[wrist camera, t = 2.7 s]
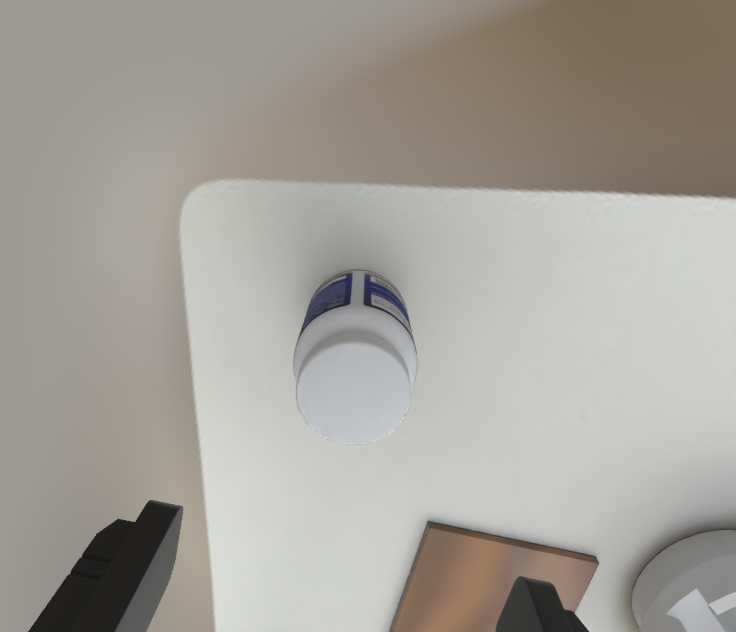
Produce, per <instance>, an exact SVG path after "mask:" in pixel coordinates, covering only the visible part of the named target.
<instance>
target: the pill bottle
mask: <svg viewBox="0 0 736 632" xmlns="http://www.w3.org/2000/svg"><path fill="white" fill-rule="evenodd" d="M293 369H294V376H295V379H296V383H297V385H296V400H297V405H298V408H299V411H300V413H301V415H302V417H303V419H304V420H305V422H306V423H307V424H308V425H309V426H310V427H311V428H312V429H313V430H314V431H315V432H316V433H318V434H319V435H321V436H322V437H324V438H326V439H328V440H331V441H333V442H337V443H340V444H347V445H360V444H367V443H370V442H374V441H376V440H379V439H381V438H383V437H385V436H386V435H388V434H389V433H391V432H392V431H393V430H394V429H395V428H396V427H397V426H398V425H399V424H400V423H401V422H402V420H403V419H404V417H405V415H406V413H407V411H408V408H409V405H410V400H411V389H412V387H413V385H414V382H415V378H416V374H417V352H416V347H415V344H414V339H413V335H412V330H411V326H410V322H409V318H408V314H407V310H406V306H405V303H404V301H403V299H402V296H401V295H400V293H399V291H398V290H397V289H396V288H395V287H394V286H393V285H392V284H391V283H390V282H389V281H388V280H386V279H385V278H383V277H381V276H379V275H377V274H374V273H371V272H367V271H347V272H343V273H340V274H337V275H335V276H333V277H331V278H330V279H328V280H327V281H325V282H324V283H323V284H322V285H321V286H320V287H319V288H318V290H317V291H316V292H315V294H314V296H313V298H312V299H311V302H310V304H309V307H308V311H307V314H306V317H305V320H304V323H303V326H302V329H301V332H300V335H299V338H298V341H297V344H296V348H295V352H294V359H293Z"/></svg>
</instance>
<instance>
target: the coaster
mask: <svg viewBox="0 0 736 632" xmlns="http://www.w3.org/2000/svg"><path fill="white" fill-rule="evenodd" d="M598 565H599V562H598V560H597V558H596V557H593V556H588V555H584V554H579V553H574V552H569V551H565V550H560V549H555V548H550V547H546V546H541V545H536V544H531V543H527V542H522V541H517V540H512V539H508V538H503V537H498V536H493V535H489V534H484V533H479V532H474V531H470V530H465V529H460V528H455V527H451V526H446V525H441V524H436V523H432V522H428V525H427V527H426V530H425V533H424V536H423V539H422V542H421V545H420V547H419V550H418V553H417V556H416V559H415V562H414V564H413V567H412V570H411V573H410V576H409V579H408V582H407V584H406V587H405V590H404V593H403V596H402V599H401V602H400V604H399V607H398V610H397V613H396V616H395V619H394V622H393V624H392V627H391V630H390V632H495V630H496V625H497V622H498V619H499V617H500V614H501V612H502V610H503V608H504V605H505V603H506V601H507V598H508V596H509V594H510V591H511V589H512V587H513V584H514V582H515V580H516V579H517V578H518V577H519V576H523V577H528V578H533V579H538V580H543V581H548V582H551V583H552V584H553V585H554V586H555V588H556V590H557V593H558V595H559V598H560V600H561V603H562V605H563V607H564V609H566V610H571V611H573V612H574V613H575V611H576V609H577V607H578V605H579V603H580V601H581V599H582V597H583V595H584V593H585V591H586V589H587V587H588V585H589V583H590V581H591V579H592V577H593V575H594V573H595V571H596V569H597V567H598Z"/></svg>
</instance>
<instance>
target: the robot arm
mask: <svg viewBox="0 0 736 632" xmlns="http://www.w3.org/2000/svg"><path fill="white" fill-rule="evenodd" d="M182 515H183V507H182V506H179V505H174V504H168V503H164V502H159V501H154V500H150V501H148V503H147V504H146V505H145V507H144V509H143V510H142V512H141V513H140V515H139V517H138V518H137V520H136V522H131V521H126V520H121V519H117V520H116V521H115V522H113V523H112V524H110V525H109V526H107V527H106V528H104V529H103V530H102V531H100V532H99V533H97V534H96V536H95V537H94V539H93V540H92V541H91V543H90V544H89V546H88V547H87V549H86V550H85V551H84V553H83V555H82V557H81V558H80V559H79V560H78V561H77V563H76V564H75V566H74V567H73V569H72V570H71V573H70V575H68V576H67V577H66V579H65V580H64V581H63V583H62V584H61V586H60V587H59V589H58V590H57V592H56V593H55V595H54V596H53V597H52V599H51V600H50V602H49V603H48V604H47V606H46V607H45V609H44V610H43V611H42V613H41V614H40V616H39V617H38V619H37V620H36V622H35V623H34V625H33V626H32V627H31V629H30V630H29V631H28V632H146V631H147V629H148V626H149V624H150V622H151V620H152V618H153V615H154V614H155V611H156V609H157V607H158V605H159V603H160V600H161V598H162V596H163V594H164V592H165V590H166V587H167V585H168V582H169V579H170V577H171V574H172V571H173V567H174V563H175V559H176V553H177V547H178V540H179V534H180V527H181V521H182ZM495 632H589V631H588V630H587V628H586V627H585V626H584V625H583V623H582V622H581V621H580V620H579V618H578V617H577V616H576V615H575V613H574V612H573V611H571V610H566V609H564V607H563V605H562V603H561V600H560V598H559V595H558V593H557V590H556V588H555V586H554V585H553V584H552V583H551V582H548V581H543V580H538V579H533V578H528V577H523V576H519V577H518V578H517V579H516V580H515V582H514V584H513V587H512V589H511V591H510V594H509V596H508V598H507V601H506V603H505V605H504V608H503V610H502V612H501V614H500V617H499V619H498V622H497V625H496V630H495Z"/></svg>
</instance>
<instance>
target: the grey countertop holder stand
mask: <svg viewBox="0 0 736 632" xmlns="http://www.w3.org/2000/svg"><path fill="white" fill-rule="evenodd" d="M631 603H632V611H633V615H634V617H635V620H636V622H637V624H638V626H639V632H736V530H714V531H709V532H704V533H699V534H696V535H693V536H690V537H687V538H684V539H682V540H680V541H678V542H676V543H674V544H672V545H671V546H669V547H667V548H666V549H664V550H663V551H662V552H660V553H659V554H658V555H656V556H655V557H654V558H653V559H652V560H651V561H650V562H649V563H648V564H647V566H646V567H645V568H644V569H643V571H642V572H641V574H640V576H639V577H638V579H637V581H636V584H635V586H634V589H633V594H632V601H631Z"/></svg>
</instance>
